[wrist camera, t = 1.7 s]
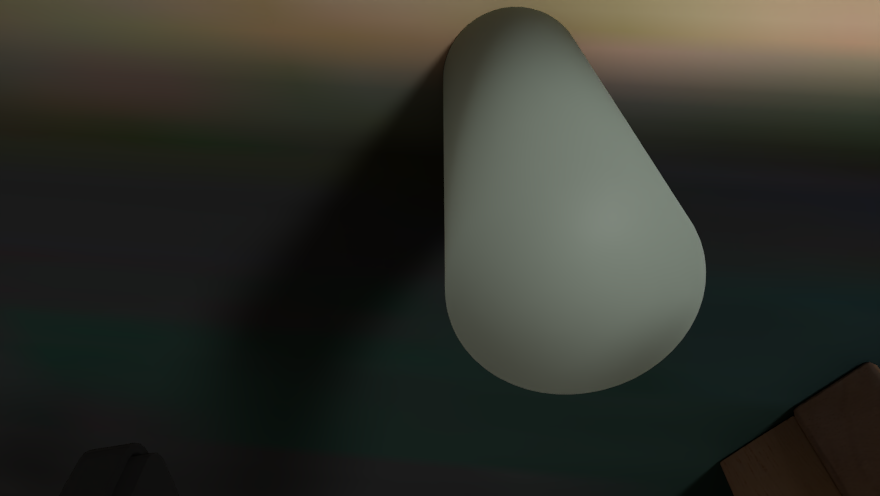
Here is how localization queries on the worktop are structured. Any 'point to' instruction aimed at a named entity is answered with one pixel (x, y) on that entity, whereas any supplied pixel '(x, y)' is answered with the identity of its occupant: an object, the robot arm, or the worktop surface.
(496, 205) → the dowel
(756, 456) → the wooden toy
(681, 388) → the worktop surface
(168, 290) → the worktop surface
